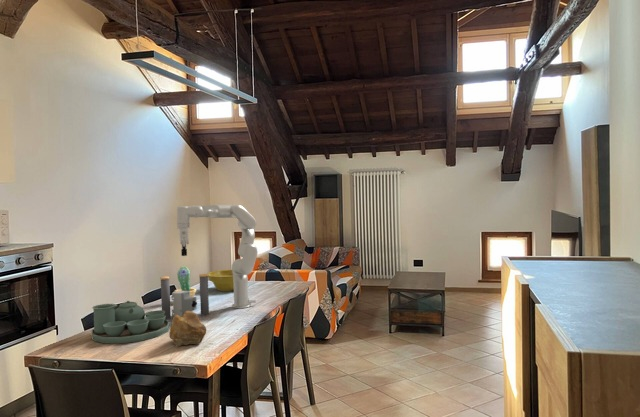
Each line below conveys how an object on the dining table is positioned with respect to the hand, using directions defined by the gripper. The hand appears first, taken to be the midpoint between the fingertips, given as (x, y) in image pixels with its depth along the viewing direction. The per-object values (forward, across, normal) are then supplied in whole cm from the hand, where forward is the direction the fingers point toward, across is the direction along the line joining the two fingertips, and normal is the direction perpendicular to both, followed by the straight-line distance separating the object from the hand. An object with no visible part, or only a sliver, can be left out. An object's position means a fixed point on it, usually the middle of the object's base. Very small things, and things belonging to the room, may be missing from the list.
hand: (184, 255), depth 291 cm
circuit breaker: (+38, -1, 0) cm, 38 cm away
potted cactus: (+38, +43, 0) cm, 57 cm away
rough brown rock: (+38, -58, -2) cm, 70 cm away
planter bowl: (+37, +76, -33) cm, 91 cm away
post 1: (+38, -1, +11) cm, 39 cm away
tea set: (+38, -27, +28) cm, 55 cm away
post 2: (+37, 0, -12) cm, 39 cm away
